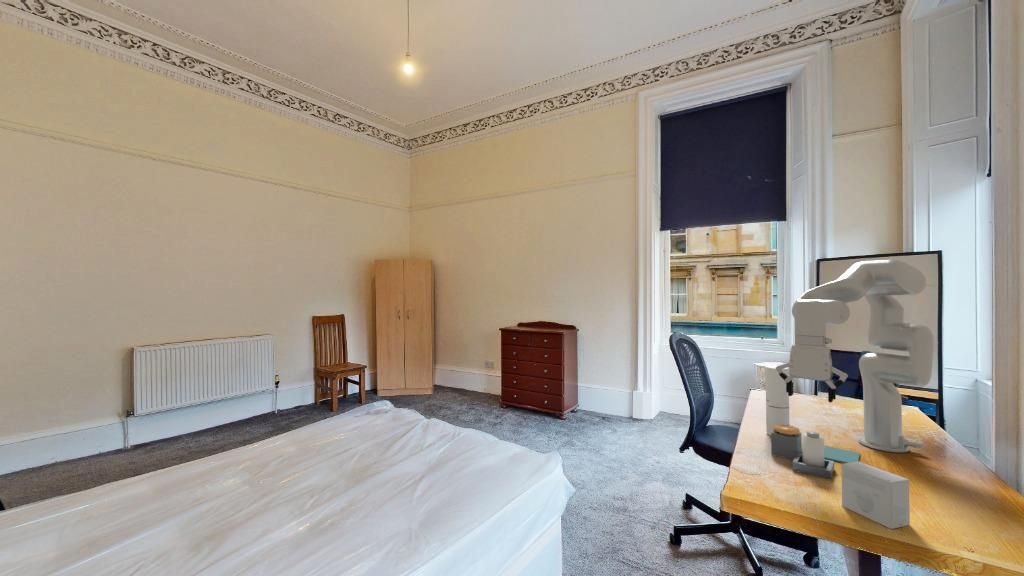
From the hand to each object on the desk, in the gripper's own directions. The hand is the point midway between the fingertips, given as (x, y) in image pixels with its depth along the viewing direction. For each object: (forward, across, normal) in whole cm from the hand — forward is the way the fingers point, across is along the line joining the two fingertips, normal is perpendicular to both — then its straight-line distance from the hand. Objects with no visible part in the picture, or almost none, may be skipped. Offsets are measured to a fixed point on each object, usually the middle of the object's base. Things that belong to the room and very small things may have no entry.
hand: (810, 398), depth 118 cm
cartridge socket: (+21, -1, +1) cm, 21 cm away
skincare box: (+22, -15, +19) cm, 33 cm away
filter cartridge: (+21, -1, +1) cm, 21 cm away
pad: (+21, -2, -18) cm, 27 cm away
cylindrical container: (+21, +14, -26) cm, 36 cm away
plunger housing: (+21, +7, -7) cm, 23 cm away
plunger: (+17, +7, -7) cm, 20 cm away
